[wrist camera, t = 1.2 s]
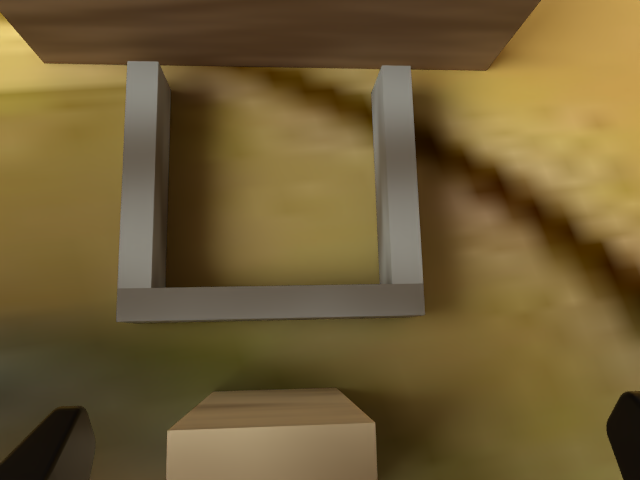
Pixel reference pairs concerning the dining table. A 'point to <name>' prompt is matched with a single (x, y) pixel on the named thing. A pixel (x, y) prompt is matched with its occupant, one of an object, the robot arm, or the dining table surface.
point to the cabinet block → (273, 437)
